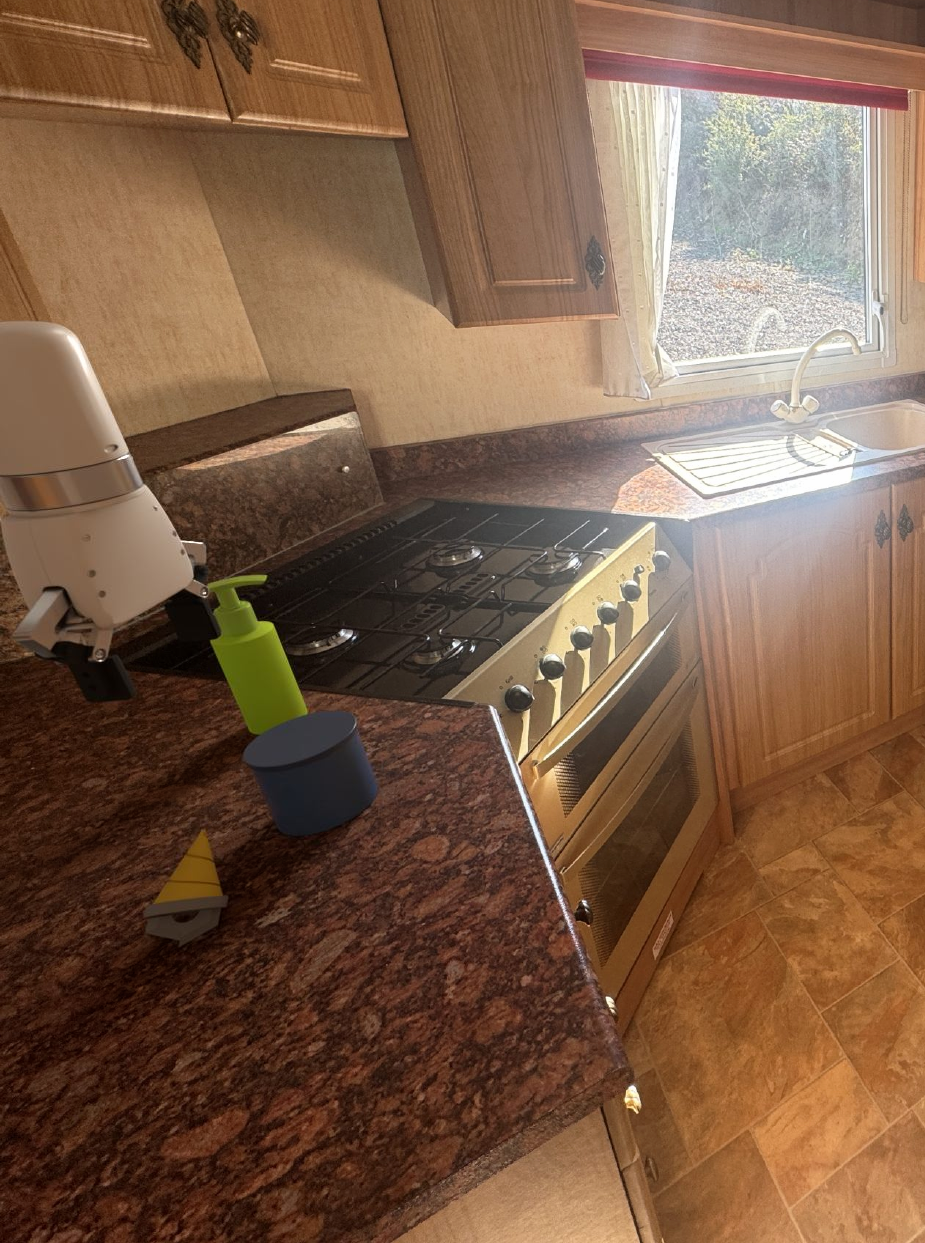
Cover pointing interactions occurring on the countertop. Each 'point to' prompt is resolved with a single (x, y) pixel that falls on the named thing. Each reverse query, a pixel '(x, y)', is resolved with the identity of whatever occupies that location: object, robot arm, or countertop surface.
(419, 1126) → the countertop surface
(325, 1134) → the countertop surface
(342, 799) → the tin
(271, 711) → the soap dispenser
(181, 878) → the drill bit
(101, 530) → the robot arm
